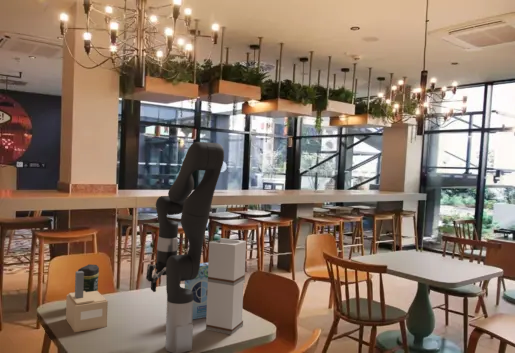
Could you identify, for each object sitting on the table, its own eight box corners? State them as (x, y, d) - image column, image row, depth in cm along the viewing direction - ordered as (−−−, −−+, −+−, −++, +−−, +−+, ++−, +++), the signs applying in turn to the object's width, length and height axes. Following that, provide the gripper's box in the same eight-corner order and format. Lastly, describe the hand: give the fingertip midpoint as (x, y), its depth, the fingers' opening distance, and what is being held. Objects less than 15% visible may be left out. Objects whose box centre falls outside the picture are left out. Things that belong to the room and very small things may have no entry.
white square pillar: (242, 325, 172) (246, 241, 171) (231, 334, 162) (235, 245, 161) (218, 320, 176) (221, 238, 175) (205, 329, 166) (209, 242, 165)
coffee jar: (91, 310, 182) (92, 268, 181) (73, 310, 182) (74, 267, 181) (100, 303, 191) (101, 263, 191) (83, 302, 191) (84, 262, 191)
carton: (107, 326, 165) (107, 300, 165) (74, 332, 158) (75, 305, 158) (96, 313, 178) (96, 290, 178) (65, 318, 171) (66, 294, 171)
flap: (93, 301, 163) (94, 275, 162) (76, 304, 159) (77, 276, 159) (84, 292, 174) (85, 267, 174) (68, 294, 170) (69, 268, 170)
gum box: (222, 310, 189) (224, 259, 189) (228, 313, 185) (230, 262, 185) (182, 317, 179) (184, 264, 178) (187, 321, 174) (189, 266, 174)
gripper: (152, 252, 150) (150, 295, 152) (188, 249, 159) (185, 290, 160) (145, 247, 157) (143, 289, 158) (180, 244, 165) (177, 284, 166)
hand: (164, 289), depth 159 cm, fingers open, 8 cm apart
